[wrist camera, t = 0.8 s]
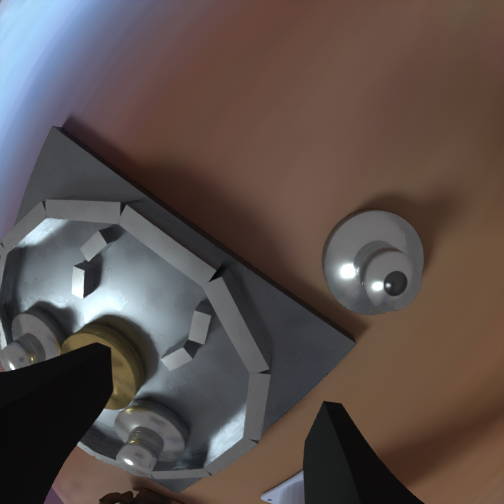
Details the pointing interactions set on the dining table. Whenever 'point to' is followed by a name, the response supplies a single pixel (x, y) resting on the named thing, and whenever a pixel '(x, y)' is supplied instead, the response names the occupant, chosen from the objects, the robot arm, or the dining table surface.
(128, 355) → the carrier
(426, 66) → the dining table surface
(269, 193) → the dining table surface
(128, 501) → the pottery mug
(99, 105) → the dining table surface
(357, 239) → the planet gear
